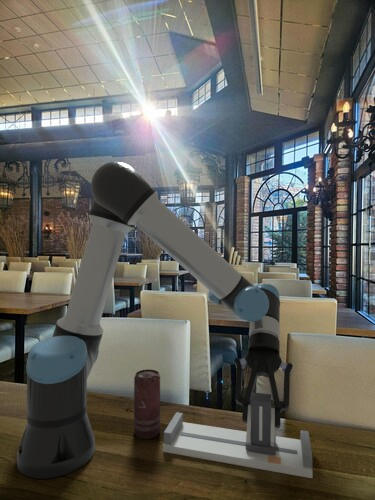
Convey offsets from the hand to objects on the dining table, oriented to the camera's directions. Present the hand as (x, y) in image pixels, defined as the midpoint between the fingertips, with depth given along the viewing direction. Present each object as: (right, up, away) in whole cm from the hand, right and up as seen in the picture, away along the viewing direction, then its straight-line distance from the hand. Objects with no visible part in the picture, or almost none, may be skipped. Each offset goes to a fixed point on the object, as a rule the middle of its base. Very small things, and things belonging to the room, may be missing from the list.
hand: (260, 441), depth 66 cm
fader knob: (+1, -3, +3) cm, 4 cm away
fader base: (-4, -4, +5) cm, 8 cm away
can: (-24, -5, +11) cm, 27 cm away
